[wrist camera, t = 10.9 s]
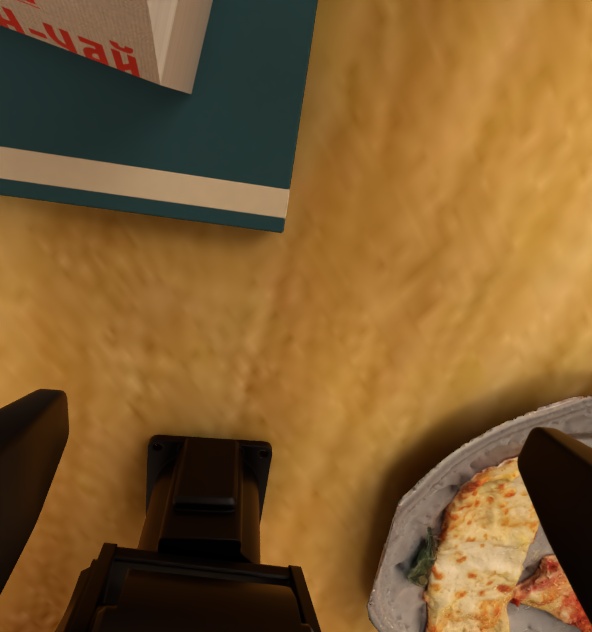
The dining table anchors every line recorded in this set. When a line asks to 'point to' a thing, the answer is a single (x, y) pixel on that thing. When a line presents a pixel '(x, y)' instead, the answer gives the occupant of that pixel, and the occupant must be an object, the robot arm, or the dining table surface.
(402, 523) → the food plate
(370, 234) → the dining table surface
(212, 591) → the robot arm
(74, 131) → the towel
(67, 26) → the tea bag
